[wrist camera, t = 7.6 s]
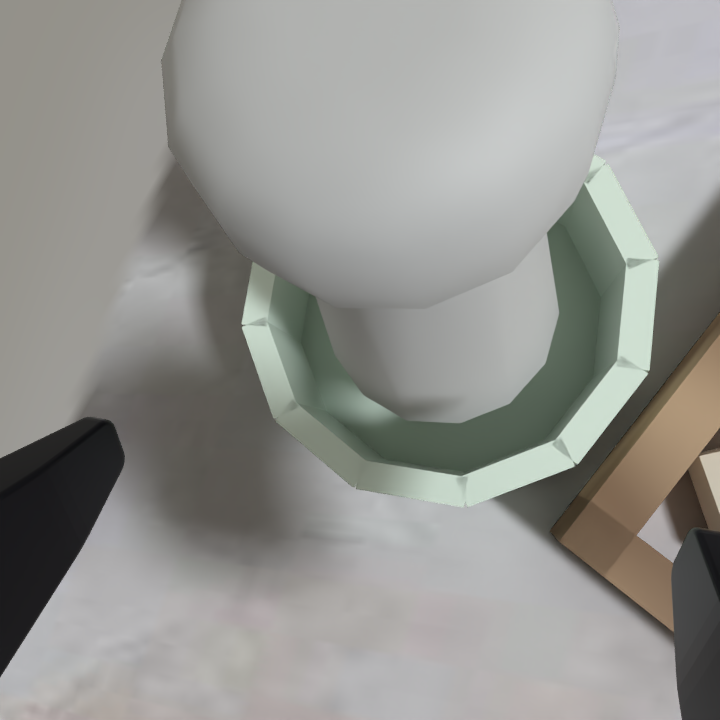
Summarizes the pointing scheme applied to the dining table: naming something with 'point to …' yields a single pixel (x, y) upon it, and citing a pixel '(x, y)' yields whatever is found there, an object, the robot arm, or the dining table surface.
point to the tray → (646, 480)
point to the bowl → (498, 427)
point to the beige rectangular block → (708, 485)
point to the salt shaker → (399, 172)
